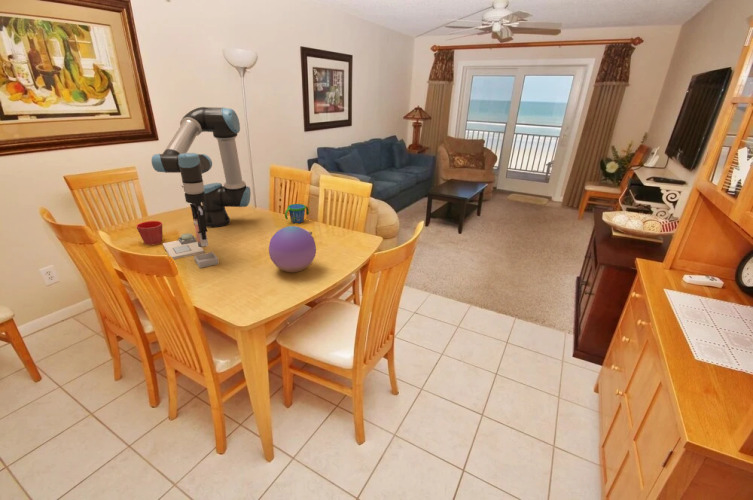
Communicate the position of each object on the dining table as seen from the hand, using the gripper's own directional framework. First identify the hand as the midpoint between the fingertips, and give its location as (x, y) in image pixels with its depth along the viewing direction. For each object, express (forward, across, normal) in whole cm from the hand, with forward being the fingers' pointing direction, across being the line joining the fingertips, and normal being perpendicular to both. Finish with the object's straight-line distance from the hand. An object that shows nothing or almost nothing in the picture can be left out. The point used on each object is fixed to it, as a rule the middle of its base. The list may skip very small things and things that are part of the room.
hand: (203, 244), depth 150 cm
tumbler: (+1, 0, 0) cm, 1 cm away
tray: (+9, 0, 0) cm, 9 cm away
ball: (+10, +28, +29) cm, 41 cm away
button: (+6, -29, -1) cm, 29 cm away
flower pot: (+9, -39, -15) cm, 43 cm away
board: (+9, -22, -5) cm, 25 cm away
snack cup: (+9, -29, +60) cm, 67 cm away
